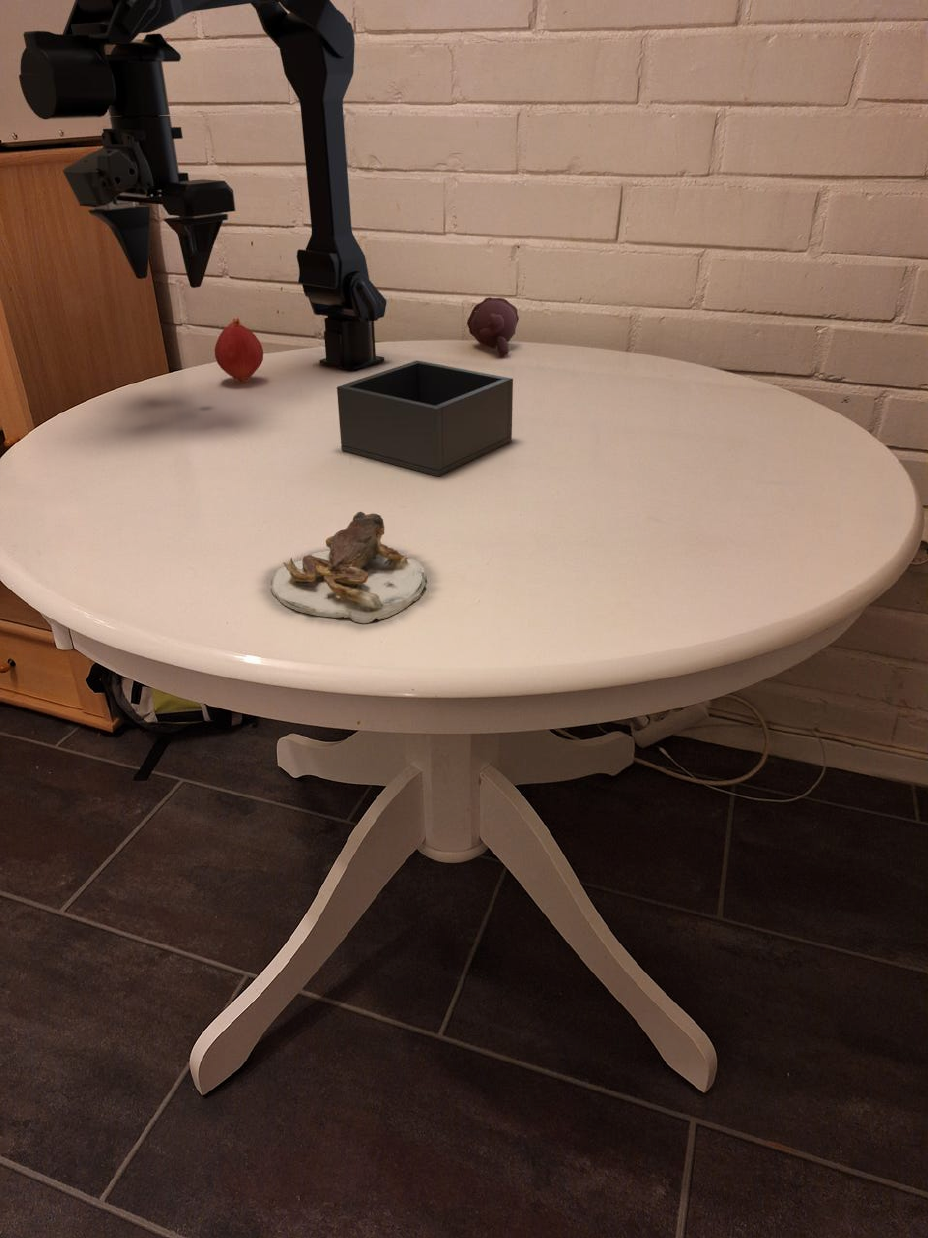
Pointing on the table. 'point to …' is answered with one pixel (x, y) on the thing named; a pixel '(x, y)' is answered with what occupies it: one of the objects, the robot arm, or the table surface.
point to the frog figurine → (351, 576)
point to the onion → (238, 351)
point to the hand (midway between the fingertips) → (168, 282)
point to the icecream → (494, 323)
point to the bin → (425, 416)
